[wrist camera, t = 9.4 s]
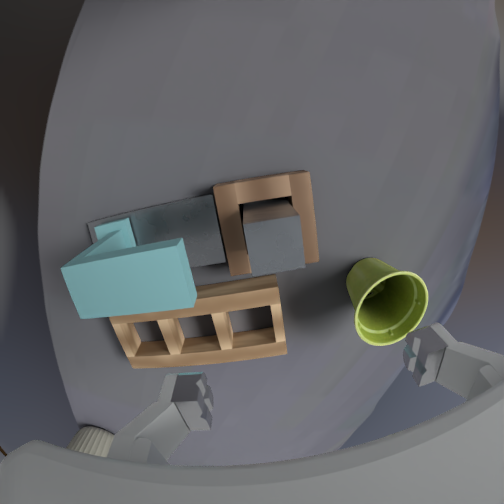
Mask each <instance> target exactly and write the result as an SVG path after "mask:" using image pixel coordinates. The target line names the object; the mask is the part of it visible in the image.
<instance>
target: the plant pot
mask: <svg viewBox="0 0 504 504" xmlns="http://www.w3.org/2000/svg"><path fill="white" fill-rule="evenodd" d="M346 286H347V290H348V293H349V295H350V298H351V301H352V304H353V307H354V310H355V314H354V324H355V328H356V331H357V333H358V335H359V336H360V338H361V339H362V340H364V341H365V342H367V343H369V344H371V345H376V346H383V345H390V344H393V343H395V342H398V341H400V340H401V339H403V338H404V337H406V335H407V333H408V332H411V331H413V330H414V329H415V328H416V326H417V325H418V324H419V322H420V321H421V319H422V317H423V316H424V313H425V311H426V308H427V304H428V291H427V287H426V285H425V283H424V281H423V280H422V279H421V278H420V277H419V276H417V275H416V274H414V273H412V272H408V271H398V270H397V269H395V268H393V267H391V266H389V265H388V264H386V263H384V262H382V261H381V260H379V259H376V258H365V259H363V260H361V261H359V262H357V263H356V264H355V265H354V266H353V268H352V270H351V271H350V272H349V274H348V276H347V280H346ZM371 292H373V294H371V295H368V296H367V294H368V293H371Z"/></svg>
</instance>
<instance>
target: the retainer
mask: <svg viewBox="0 0 504 504" xmlns="http://www.w3.org/2000/svg"><path fill="white" fill-rule="evenodd" d="M94 228H95V232H96V235H97V239H98V241H97V242H96V243H94V244H93V245H91V246H90V247H88V248H87V249H86V250H84V251H83V252H81V253H80V254H79V255H77V256H76V257H75V258H73V259H72V260H70V261H69V262H68V263H66V264H65V265H64V266H62V267H61V271H62V274H63V277H64V279H65V282H66V285H67V287H68V290H69V292H70V295H71V297H72V300H73V302H74V304H75V307H76V309H77V311H78V314H79V316H80V318H81V319H88V318H100V317H111V316H122V315H132V314H141V313H151V312H159V311H168V310H176V309H184V308H192V307H194V304H195V301H196V298H197V292H196V288H195V285H194V281H193V277H192V273H191V270H190V266H189V262H188V258H187V254H186V250H185V246H184V242H183V238H177V239H172V240H166V241H161V242H156V243H151V244H146V245H140V246H136V243H135V239H134V236H133V232H132V228H131V225H130V221H129V218H124V219H120V220H116V221H112V222H108V223H104V224H100V225H98V226H96V227H94Z"/></svg>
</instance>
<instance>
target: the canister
mask: <svg viewBox="0 0 504 504" xmlns="http://www.w3.org/2000/svg"><path fill="white" fill-rule="evenodd" d="M113 438H114V434H112V433H110V432H108V431H106V430H103V429H100V428H97V427H93V426H91V427H90V426H88V427H83V428H81V429H80V430H79V431H78V432H77V433H76V434H75V436H74V437H73V439H72V440H71V442H70V443H69V445H68V446H67V448H66V449H70V450H74V451H78V452H82V453H87V454H91V455H96V456H101V457H107V454H108V452H109V449H110V446H111V443H112V441H113Z"/></svg>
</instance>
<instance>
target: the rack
mask: <svg viewBox="0 0 504 504" xmlns="http://www.w3.org/2000/svg"><path fill="white" fill-rule="evenodd" d="M195 288H196V292H197V298H196V301H195V304H194V307H192V308H184V309H176V310H168V311H159V312H151V313H141V314H132V315H122V316H111V317H109V319H110V321H111V323H112V326H113V328H114V330H115V332H116V335H117V337H118V339H119V341H120V343H121V345H122V347H123V349H124V351H125V353H126V355H127V358H128V360H129V361H130V363H131V365H132V367H133V368H160V367H178V366H192V365H204V364H215V363H224V362H233V361H241V360H249V359H257V358H263V357H270V356H277V355H283V354H287V347H286V340H285V332H284V325H283V317H282V310H281V303H280V296H279V289H278V284H277V280H276V275H275V274H273V275H267V276H261V277H255V278H248V279H242V280H236V281H229V282H223V283H216V284H210V285H203V286H196V287H195ZM268 305H270V306H271V313H272V319H273V325H274V327H271V328H264V329H258V330H251V331H244V332H237V333H233V330H232V326H231V322H230V318H229V314H228V312H229V311H236V310H243V309H249V308H256V307H262V306H268ZM207 314H211V315H212V319H213V322H214V326H215V329H216V333H217V335H213V336H204V337H195V338H184V335H183V332H182V329H181V326H180V324H179V321H178V318H182V317H191V316H199V315H207ZM155 320H157V322H158V324H159V327H160V330H161V332H162V335H163V337H164V340H163V341H150V342H141V340H140V338H139V336H138V333H137V331H136V329H135V326H134V324H133V323H134V322H145V321H155Z"/></svg>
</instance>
